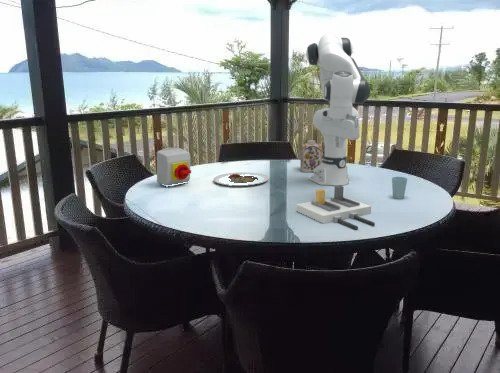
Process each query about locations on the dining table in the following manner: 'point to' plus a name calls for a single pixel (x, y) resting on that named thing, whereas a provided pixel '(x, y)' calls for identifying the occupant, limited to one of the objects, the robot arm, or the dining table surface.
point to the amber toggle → (320, 196)
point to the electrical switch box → (173, 166)
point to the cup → (399, 187)
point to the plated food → (241, 178)
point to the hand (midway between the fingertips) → (338, 147)
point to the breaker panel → (332, 209)
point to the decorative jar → (310, 156)
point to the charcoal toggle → (338, 192)
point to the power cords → (352, 216)
